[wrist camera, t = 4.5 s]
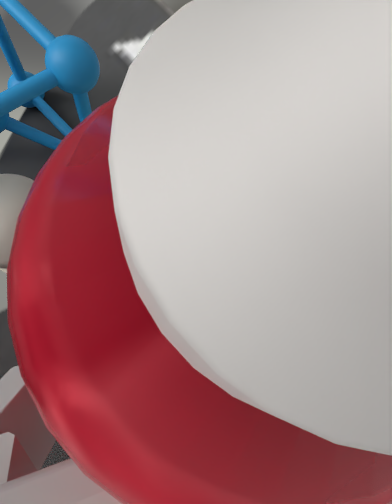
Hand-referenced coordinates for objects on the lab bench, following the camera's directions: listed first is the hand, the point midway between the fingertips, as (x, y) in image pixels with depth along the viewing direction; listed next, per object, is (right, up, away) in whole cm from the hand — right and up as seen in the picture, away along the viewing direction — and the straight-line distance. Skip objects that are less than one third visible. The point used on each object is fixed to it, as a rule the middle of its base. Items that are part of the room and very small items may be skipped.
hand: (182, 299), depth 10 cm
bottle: (-2, -4, +10) cm, 11 cm away
